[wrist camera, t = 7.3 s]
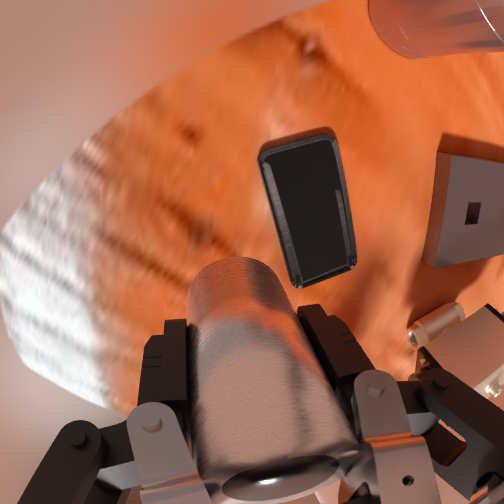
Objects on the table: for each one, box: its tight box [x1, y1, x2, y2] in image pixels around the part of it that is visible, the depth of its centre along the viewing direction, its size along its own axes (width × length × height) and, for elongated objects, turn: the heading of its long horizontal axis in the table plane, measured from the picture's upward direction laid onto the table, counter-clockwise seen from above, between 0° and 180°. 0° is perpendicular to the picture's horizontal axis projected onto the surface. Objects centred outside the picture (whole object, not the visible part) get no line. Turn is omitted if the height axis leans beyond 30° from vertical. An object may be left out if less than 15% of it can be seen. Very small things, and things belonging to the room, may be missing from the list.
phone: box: [257, 134, 357, 289], centre depth 30 cm, size 8×1×15 cm
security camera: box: [407, 302, 504, 426], centre depth 33 cm, size 18×8×18 cm, turn 109°
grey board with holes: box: [422, 152, 504, 269], centre depth 33 cm, size 14×24×2 cm, turn 92°
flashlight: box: [187, 257, 360, 504], centre depth 9 cm, size 4×4×8 cm
